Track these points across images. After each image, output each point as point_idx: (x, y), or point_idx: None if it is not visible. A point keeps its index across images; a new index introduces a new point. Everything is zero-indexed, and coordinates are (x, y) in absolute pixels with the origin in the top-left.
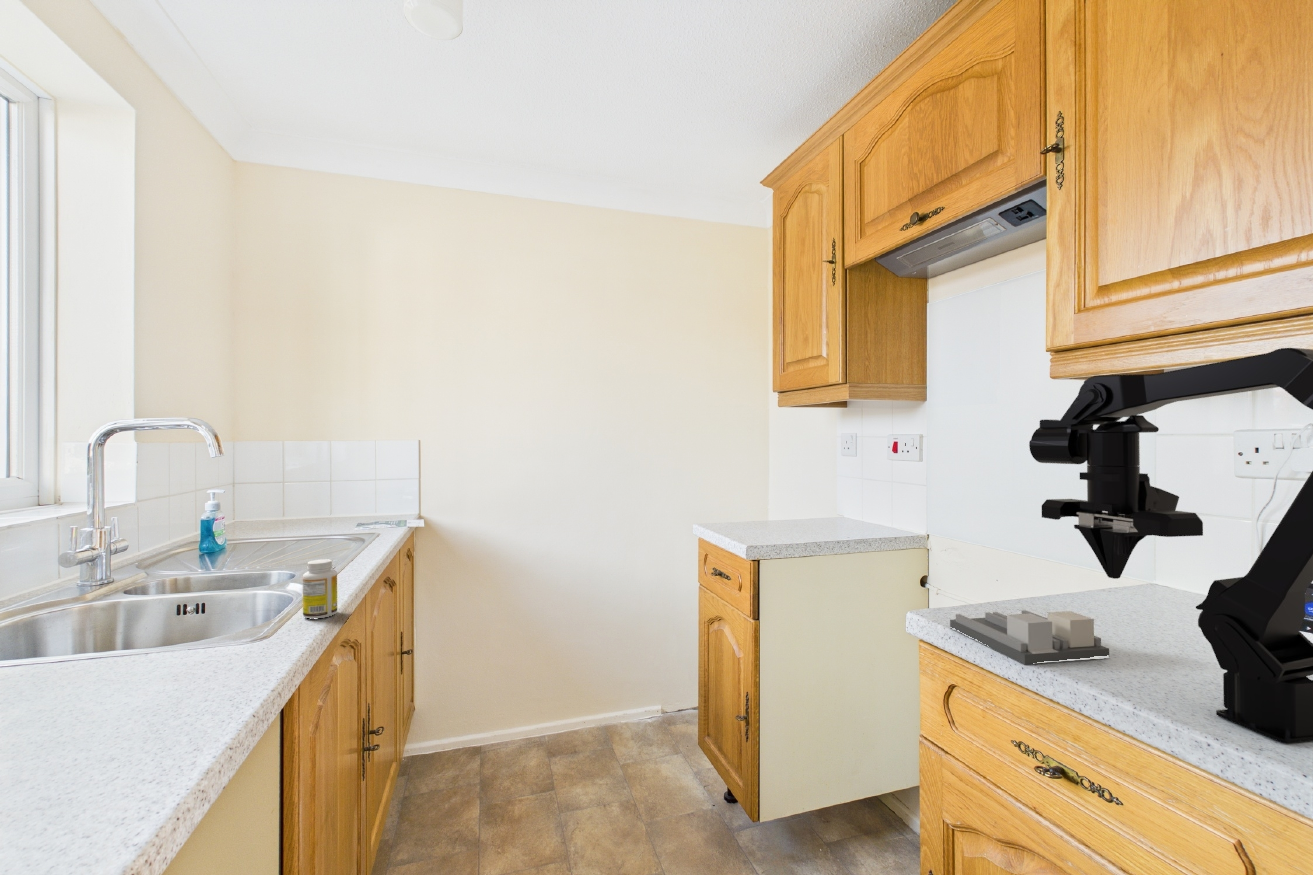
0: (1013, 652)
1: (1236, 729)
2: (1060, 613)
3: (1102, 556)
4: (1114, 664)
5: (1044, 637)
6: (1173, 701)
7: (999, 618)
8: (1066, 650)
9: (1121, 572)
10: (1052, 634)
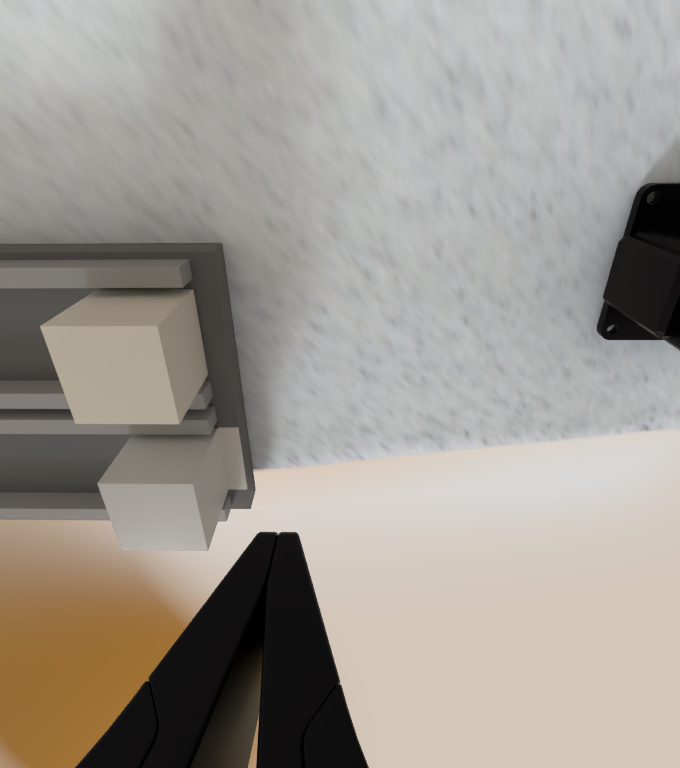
0: None
1: (649, 352)
2: (86, 390)
3: (249, 746)
4: (268, 270)
5: (211, 471)
6: (505, 348)
7: None
8: (226, 397)
9: (306, 564)
10: None
